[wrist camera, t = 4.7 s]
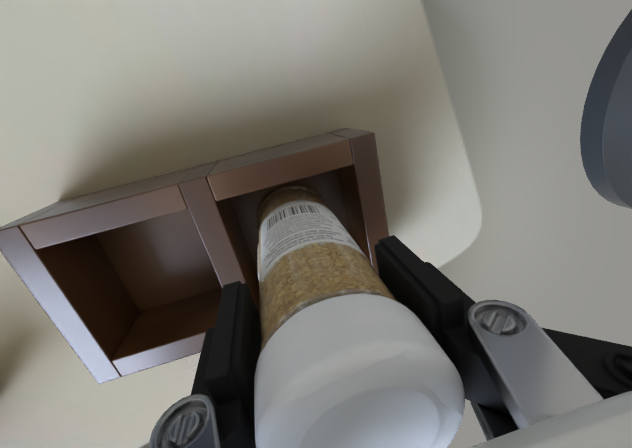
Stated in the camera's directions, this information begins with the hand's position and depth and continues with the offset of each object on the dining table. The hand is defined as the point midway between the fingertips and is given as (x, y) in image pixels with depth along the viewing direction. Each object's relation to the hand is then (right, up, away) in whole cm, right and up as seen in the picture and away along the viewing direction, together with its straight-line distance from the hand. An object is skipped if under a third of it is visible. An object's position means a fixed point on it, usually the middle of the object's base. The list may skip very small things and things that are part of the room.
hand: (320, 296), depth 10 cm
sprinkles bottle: (-2, +3, +8) cm, 9 cm away
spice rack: (-5, +2, +8) cm, 10 cm away
